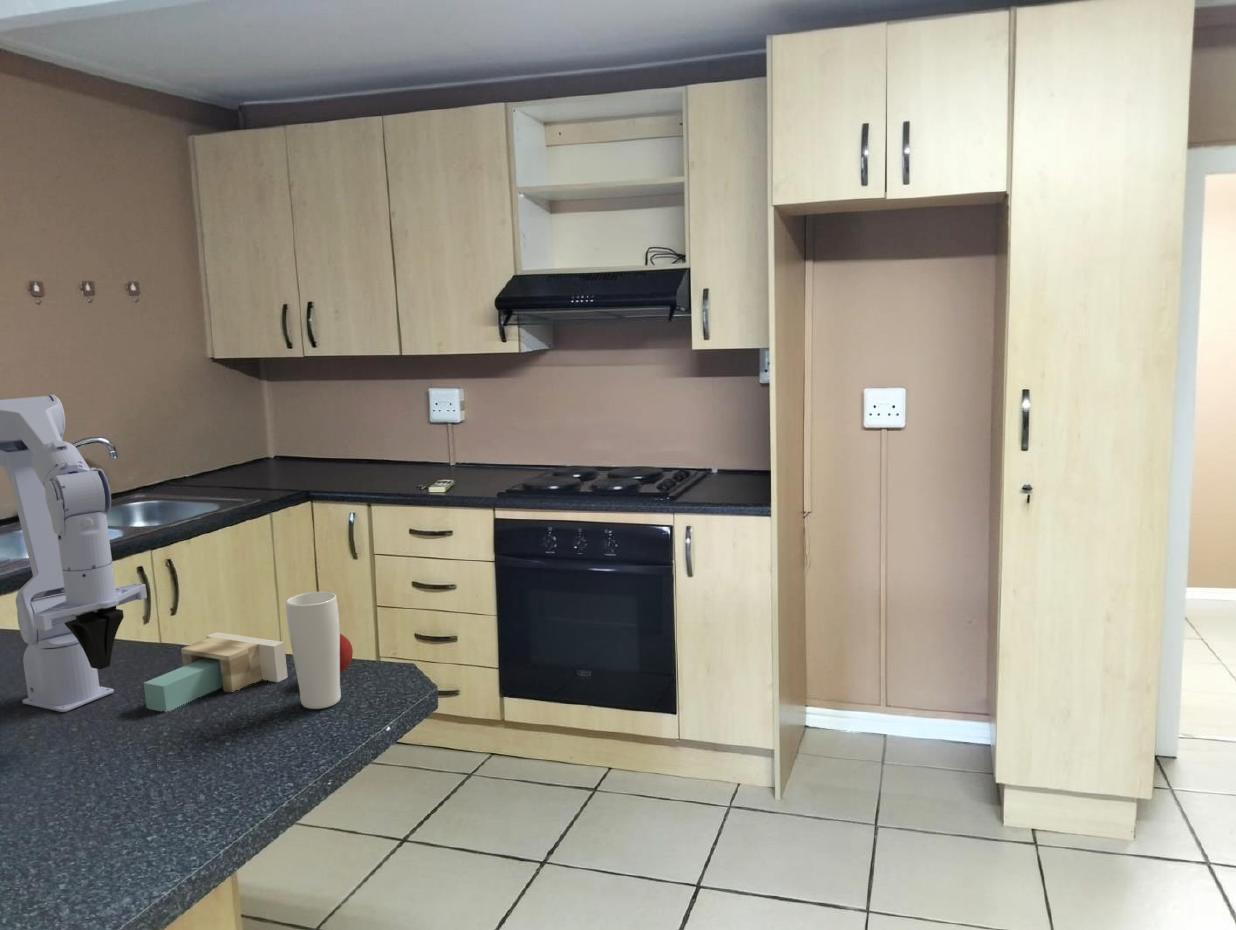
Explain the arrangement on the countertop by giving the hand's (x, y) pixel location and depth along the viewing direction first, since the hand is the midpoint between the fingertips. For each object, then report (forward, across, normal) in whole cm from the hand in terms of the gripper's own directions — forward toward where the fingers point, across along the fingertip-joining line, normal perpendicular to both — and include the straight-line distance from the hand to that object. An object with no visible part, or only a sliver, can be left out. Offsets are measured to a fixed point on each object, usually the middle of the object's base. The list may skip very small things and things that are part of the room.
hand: (100, 666), depth 129 cm
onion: (+9, +26, -15) cm, 31 cm away
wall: (+9, +23, -1) cm, 24 cm away
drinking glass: (+9, +18, -20) cm, 28 cm away
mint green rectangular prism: (+9, +14, 0) cm, 16 cm away
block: (+9, +19, 0) cm, 21 cm away
